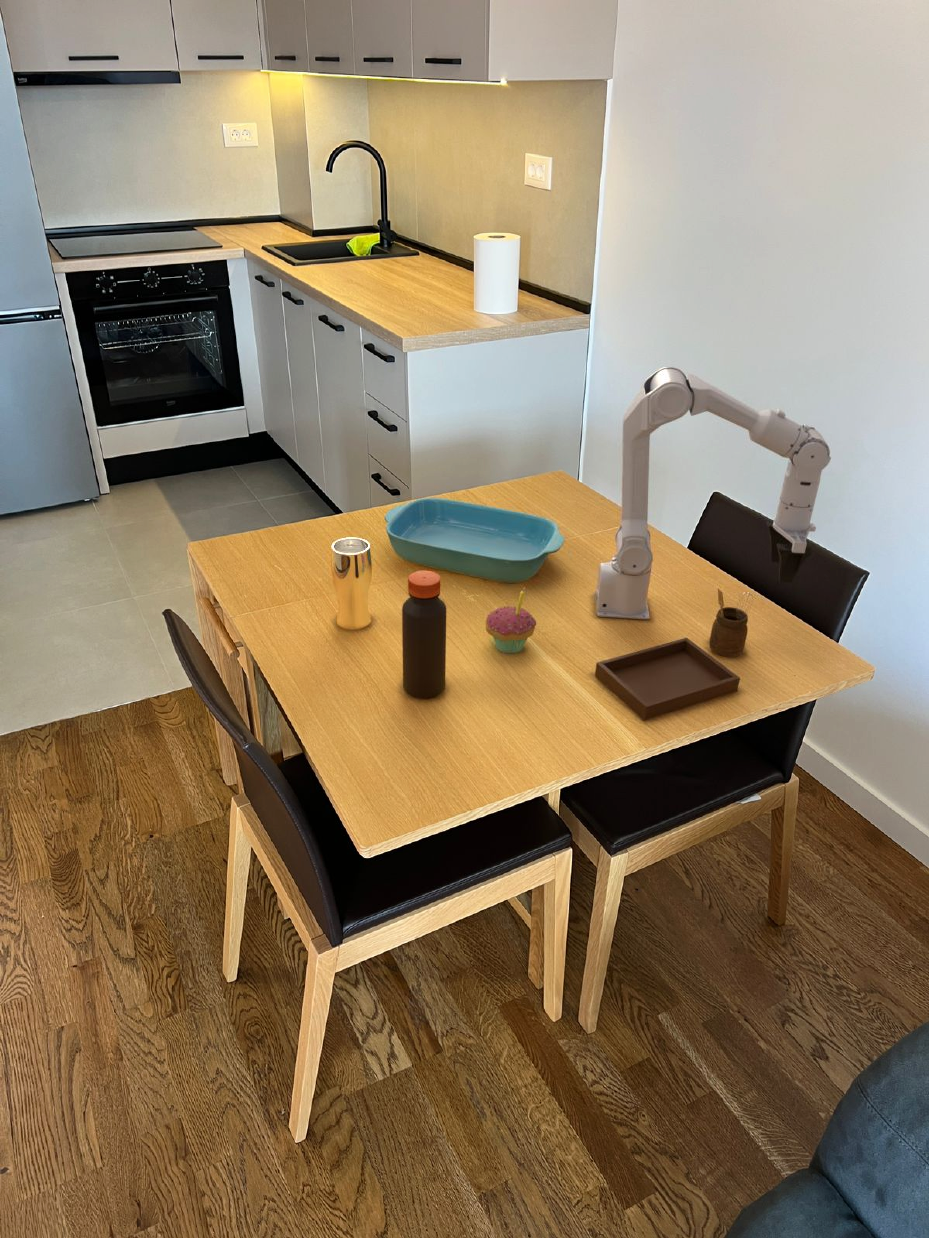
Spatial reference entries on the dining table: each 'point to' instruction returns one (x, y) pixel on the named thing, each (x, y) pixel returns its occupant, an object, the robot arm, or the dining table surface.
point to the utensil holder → (729, 629)
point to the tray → (666, 678)
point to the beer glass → (352, 581)
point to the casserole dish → (472, 538)
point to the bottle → (424, 636)
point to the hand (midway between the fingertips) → (781, 571)
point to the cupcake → (510, 627)
